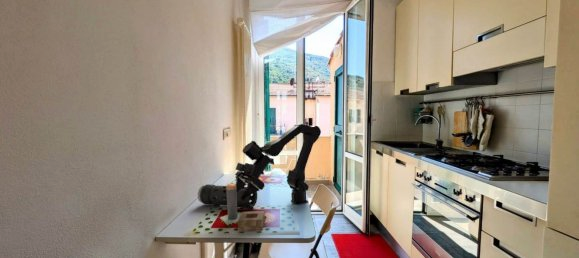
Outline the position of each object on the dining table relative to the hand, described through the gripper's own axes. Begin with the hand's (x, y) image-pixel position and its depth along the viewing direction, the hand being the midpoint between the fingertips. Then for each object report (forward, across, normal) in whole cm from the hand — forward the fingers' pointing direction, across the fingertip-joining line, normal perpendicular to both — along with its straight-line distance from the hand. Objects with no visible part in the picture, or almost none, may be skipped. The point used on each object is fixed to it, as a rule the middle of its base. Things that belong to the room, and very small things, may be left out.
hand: (237, 196), depth 111 cm
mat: (+8, 0, +5) cm, 9 cm away
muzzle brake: (+6, -17, +8) cm, 20 cm away
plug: (+8, 0, +4) cm, 9 cm away
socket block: (+6, +11, +7) cm, 15 cm away
